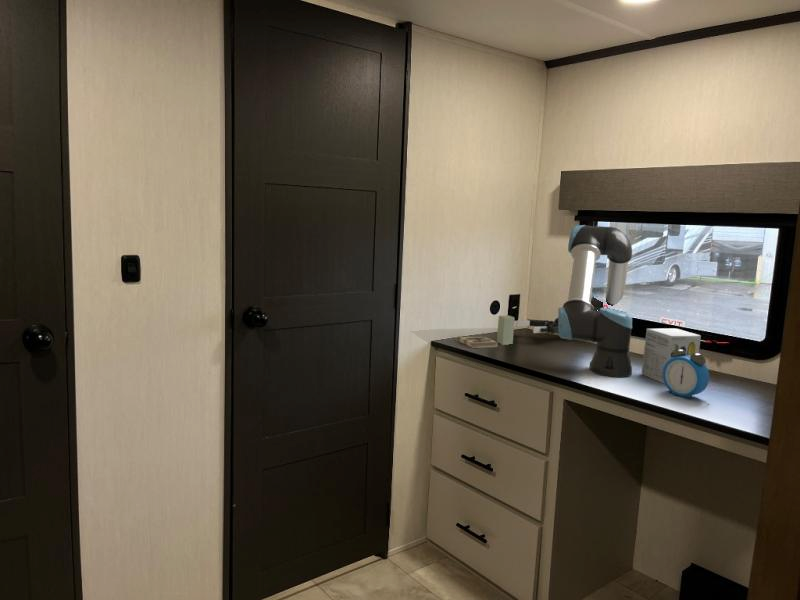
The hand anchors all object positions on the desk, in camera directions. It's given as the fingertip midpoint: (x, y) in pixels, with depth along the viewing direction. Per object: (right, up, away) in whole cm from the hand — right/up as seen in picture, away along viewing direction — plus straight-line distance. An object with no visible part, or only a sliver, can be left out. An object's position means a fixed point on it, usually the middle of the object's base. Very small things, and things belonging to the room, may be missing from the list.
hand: (524, 326), depth 270 cm
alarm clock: (+38, -20, -69) cm, 81 cm away
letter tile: (-22, -7, -7) cm, 24 cm away
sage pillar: (-9, -7, -2) cm, 12 cm away
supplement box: (+42, -17, -48) cm, 66 cm away
